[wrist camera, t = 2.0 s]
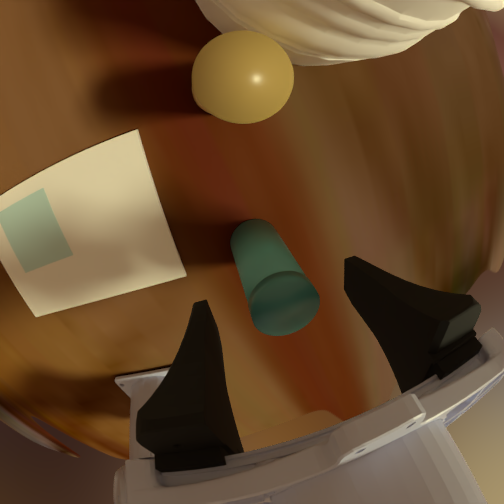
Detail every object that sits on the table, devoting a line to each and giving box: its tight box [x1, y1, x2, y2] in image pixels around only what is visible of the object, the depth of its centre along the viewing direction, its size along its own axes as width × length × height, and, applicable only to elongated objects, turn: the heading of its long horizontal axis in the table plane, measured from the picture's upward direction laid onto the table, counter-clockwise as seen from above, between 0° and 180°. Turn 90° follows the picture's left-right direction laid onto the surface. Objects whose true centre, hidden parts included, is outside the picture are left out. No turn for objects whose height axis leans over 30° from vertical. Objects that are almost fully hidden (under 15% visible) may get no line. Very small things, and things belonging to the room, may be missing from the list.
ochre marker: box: [192, 30, 294, 124], centre depth 11 cm, size 3×3×7 cm
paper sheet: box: [0, 129, 186, 317], centre depth 15 cm, size 10×14×1 cm
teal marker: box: [230, 219, 320, 336], centre depth 16 cm, size 3×3×7 cm
